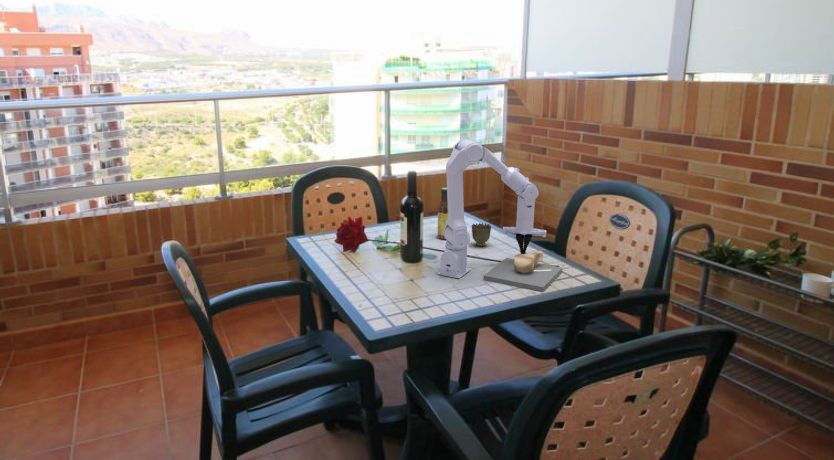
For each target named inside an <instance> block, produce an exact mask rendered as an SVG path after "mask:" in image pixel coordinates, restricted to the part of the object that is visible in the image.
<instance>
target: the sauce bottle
mask: <svg viewBox="0 0 834 460" xmlns="http://www.w3.org/2000/svg"><path fill="white" fill-rule="evenodd" d="M440 191H441V196H440V197H441V200H440V201H439V203H438V207H437V210H438V211H437V238H438V239H440V240H446V239H445V237H444V234H443V232H444V229H445V226H446V220H447V219H448V201H447V187H441V189H440ZM446 241H447V240H446Z"/></svg>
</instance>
